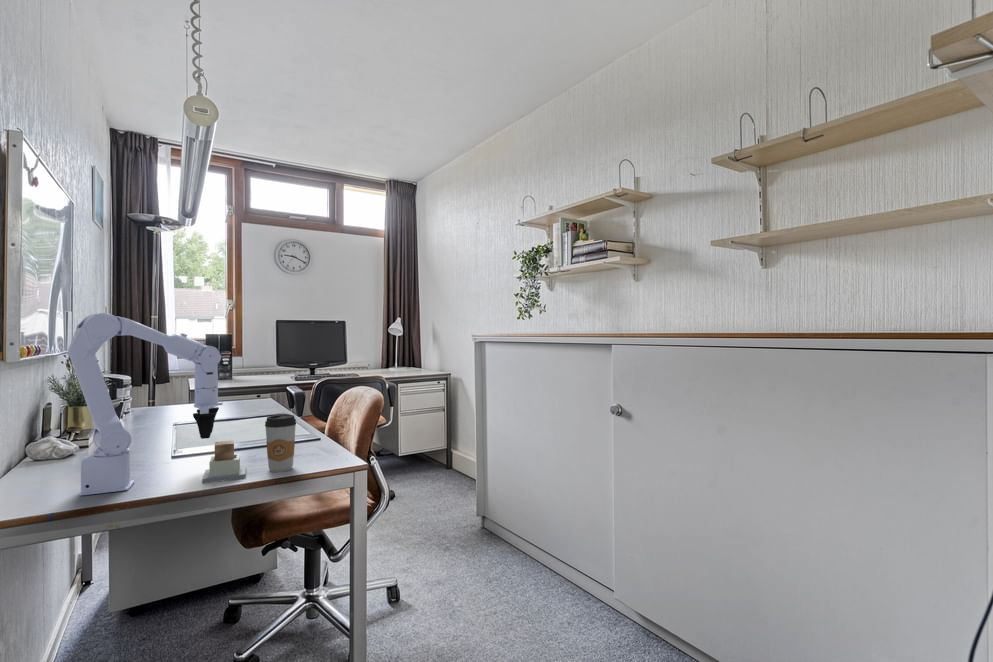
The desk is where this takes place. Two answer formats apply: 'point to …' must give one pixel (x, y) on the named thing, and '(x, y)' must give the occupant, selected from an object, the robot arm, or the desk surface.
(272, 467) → the coffee cup
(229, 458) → the walnut block
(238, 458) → the socket base
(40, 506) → the desk surface
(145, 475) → the desk surface
